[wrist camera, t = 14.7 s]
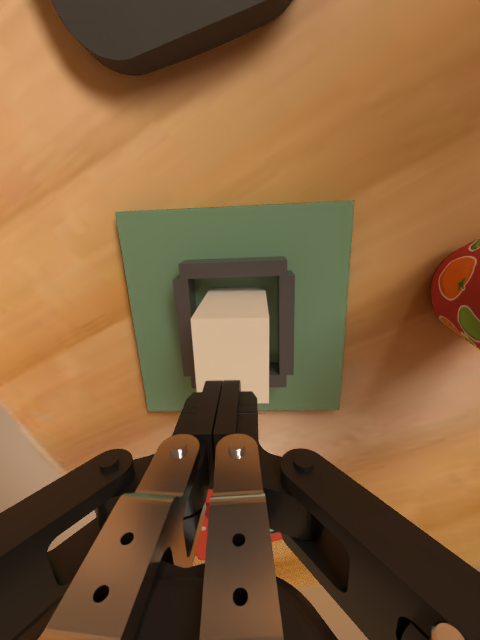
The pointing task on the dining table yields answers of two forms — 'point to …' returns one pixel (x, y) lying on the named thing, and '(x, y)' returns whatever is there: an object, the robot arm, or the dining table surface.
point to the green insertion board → (242, 272)
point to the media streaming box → (160, 28)
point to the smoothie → (459, 292)
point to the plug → (233, 339)
